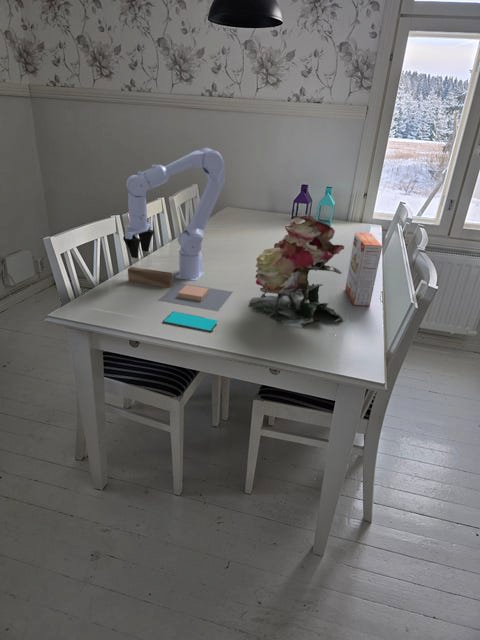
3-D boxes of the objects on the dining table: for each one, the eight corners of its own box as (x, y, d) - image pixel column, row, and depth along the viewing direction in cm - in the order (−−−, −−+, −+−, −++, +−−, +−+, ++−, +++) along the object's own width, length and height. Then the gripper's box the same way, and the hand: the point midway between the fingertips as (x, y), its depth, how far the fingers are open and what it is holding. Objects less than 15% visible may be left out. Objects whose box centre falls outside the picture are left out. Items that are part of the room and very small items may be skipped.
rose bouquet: (292, 286, 151) (302, 201, 137) (352, 320, 130) (371, 223, 116) (231, 299, 138) (235, 206, 124) (286, 339, 117) (300, 232, 103)
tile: (186, 284, 141) (209, 288, 140) (186, 289, 142) (208, 293, 140) (178, 292, 135) (201, 296, 133) (178, 297, 136) (201, 301, 134)
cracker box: (343, 289, 152) (354, 231, 142) (360, 290, 152) (372, 232, 142) (351, 305, 139) (363, 244, 130) (370, 306, 139) (383, 245, 130)
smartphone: (211, 331, 117) (162, 321, 121) (211, 333, 118) (162, 324, 121) (220, 320, 124) (173, 311, 127) (220, 322, 124) (173, 313, 127)
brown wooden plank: (132, 280, 148) (131, 266, 146) (172, 286, 145) (171, 272, 143) (128, 282, 146) (127, 269, 144) (169, 289, 143) (169, 275, 141)
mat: (178, 283, 147) (178, 282, 147) (233, 292, 143) (233, 291, 143) (157, 301, 133) (157, 300, 133) (217, 312, 129) (218, 311, 129)
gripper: (137, 208, 145) (139, 246, 151) (115, 217, 132) (118, 258, 139) (156, 210, 143) (157, 249, 150) (135, 220, 131) (137, 262, 137)
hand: (140, 254), depth 144 cm, fingers open, 7 cm apart
